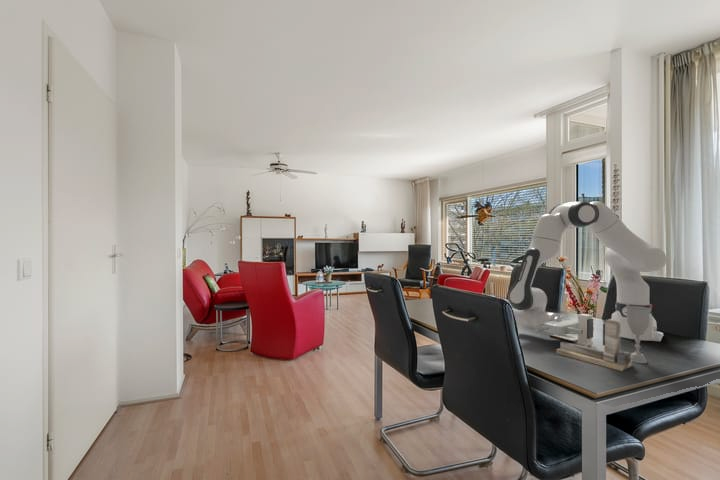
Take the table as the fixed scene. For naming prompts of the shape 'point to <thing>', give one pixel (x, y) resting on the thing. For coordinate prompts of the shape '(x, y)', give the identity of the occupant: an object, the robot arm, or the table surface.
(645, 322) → the chalice
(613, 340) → the wooden stand
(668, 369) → the table surface
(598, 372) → the table surface
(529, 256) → the robot arm
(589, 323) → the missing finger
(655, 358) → the table surface
